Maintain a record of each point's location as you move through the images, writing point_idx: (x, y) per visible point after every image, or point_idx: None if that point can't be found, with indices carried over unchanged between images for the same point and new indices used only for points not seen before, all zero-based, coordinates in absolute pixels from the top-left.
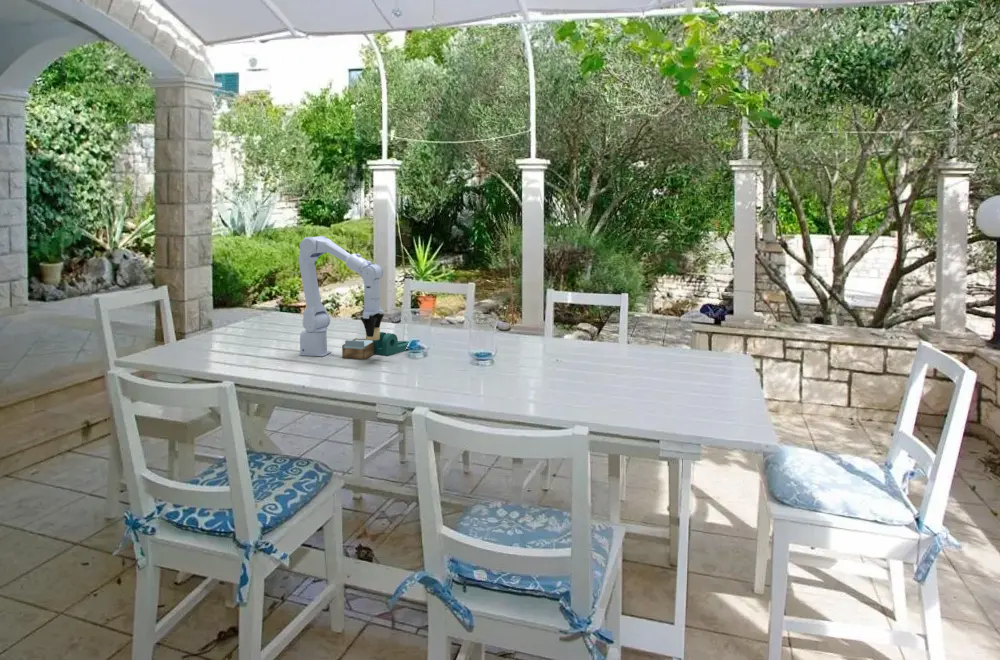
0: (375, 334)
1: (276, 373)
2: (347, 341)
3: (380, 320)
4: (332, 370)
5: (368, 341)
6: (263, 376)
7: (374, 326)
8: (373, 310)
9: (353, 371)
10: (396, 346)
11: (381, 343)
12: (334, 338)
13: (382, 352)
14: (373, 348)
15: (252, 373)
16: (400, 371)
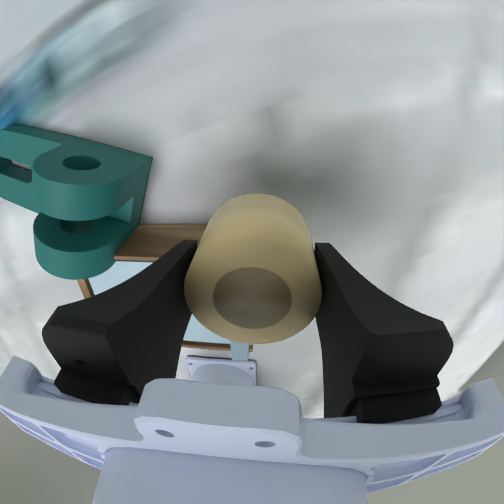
0: (302, 234)
1: (446, 368)
2: (247, 351)
3: (139, 298)
4: (447, 279)
5: (113, 282)
6: (463, 372)
7: (343, 286)
8: (364, 488)
9: (467, 210)
10: (68, 147)
11: (77, 227)
12: (53, 364)
13: (141, 185)
14: (137, 238)
15: None
16: (451, 24)
